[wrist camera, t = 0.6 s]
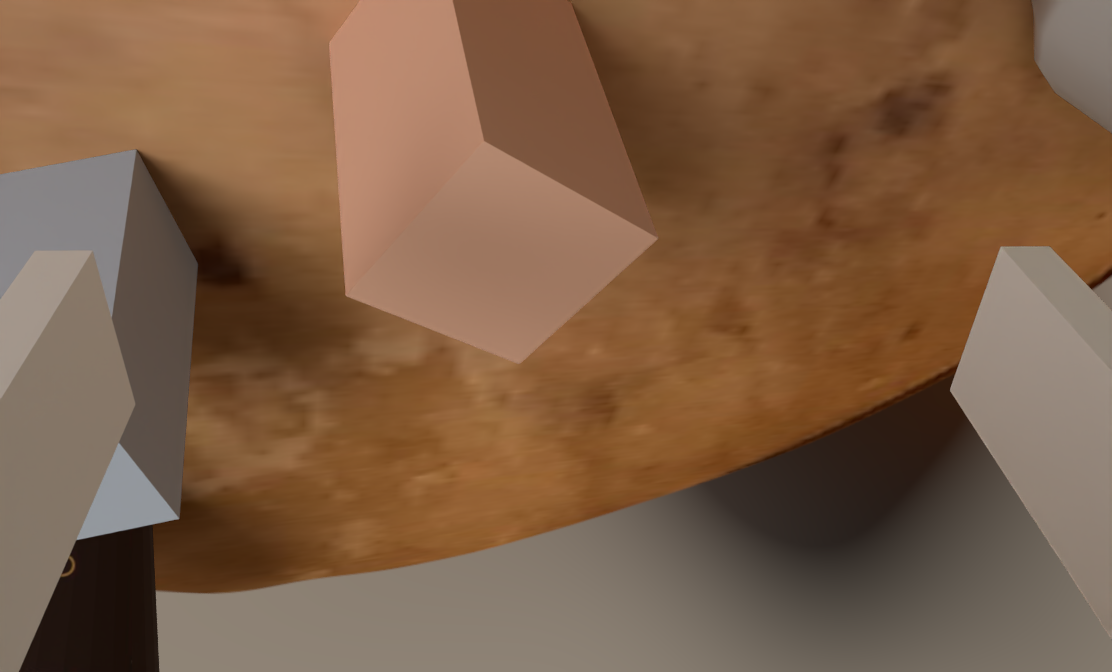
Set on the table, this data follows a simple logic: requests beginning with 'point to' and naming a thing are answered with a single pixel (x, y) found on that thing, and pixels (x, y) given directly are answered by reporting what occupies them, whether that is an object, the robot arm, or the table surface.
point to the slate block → (120, 312)
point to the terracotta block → (479, 168)
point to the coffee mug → (101, 609)
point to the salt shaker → (1077, 53)
